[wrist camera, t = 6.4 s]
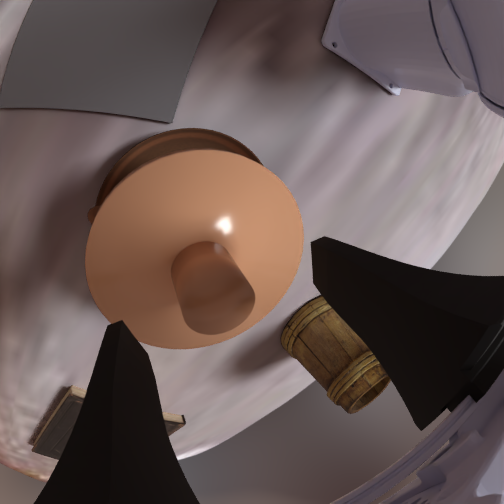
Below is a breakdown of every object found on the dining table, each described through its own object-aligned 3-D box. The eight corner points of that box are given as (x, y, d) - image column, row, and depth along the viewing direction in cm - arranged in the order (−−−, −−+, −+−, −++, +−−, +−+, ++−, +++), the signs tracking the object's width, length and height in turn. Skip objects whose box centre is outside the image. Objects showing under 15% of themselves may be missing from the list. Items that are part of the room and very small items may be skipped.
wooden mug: (377, 291, 34) (472, 382, 19) (299, 359, 34) (377, 467, 20) (362, 251, 28) (491, 361, 14) (266, 334, 28) (363, 478, 14)
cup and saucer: (110, 294, 19) (111, 355, 14) (91, 131, 13) (69, 144, 8) (253, 275, 24) (288, 322, 19) (272, 130, 18) (326, 144, 13)
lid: (278, 118, 11) (326, 128, 9) (304, 292, 18) (335, 328, 15) (46, 210, 9) (20, 252, 6) (149, 361, 16) (159, 409, 13)
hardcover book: (31, 439, 24) (31, 451, 22) (69, 378, 22) (69, 396, 20) (113, 461, 34) (115, 471, 32) (183, 411, 31) (187, 425, 30)
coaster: (231, -30, 10) (233, -33, 10) (171, 122, 15) (172, 123, 15) (66, -51, 4) (65, -53, 4) (-1, 107, 9) (-3, 108, 9)
